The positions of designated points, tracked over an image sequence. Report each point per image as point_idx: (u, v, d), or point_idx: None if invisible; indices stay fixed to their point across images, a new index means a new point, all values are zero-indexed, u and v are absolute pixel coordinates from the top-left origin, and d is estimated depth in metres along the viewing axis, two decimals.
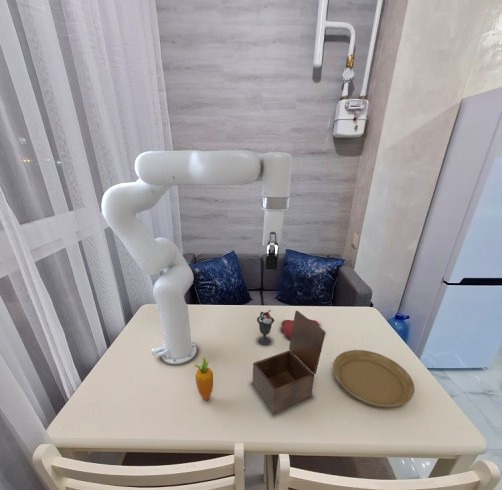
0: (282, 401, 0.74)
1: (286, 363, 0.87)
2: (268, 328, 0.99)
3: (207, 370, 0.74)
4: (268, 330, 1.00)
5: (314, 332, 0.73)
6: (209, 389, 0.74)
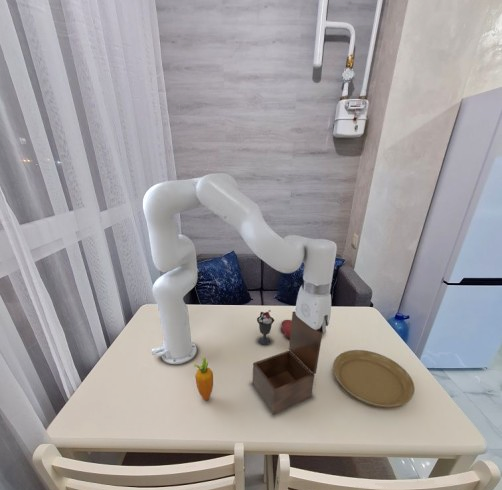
0: (282, 401, 0.74)
1: (286, 363, 0.87)
2: (268, 328, 0.99)
3: (207, 370, 0.74)
4: (268, 330, 1.00)
5: (311, 333, 0.73)
6: (209, 389, 0.74)
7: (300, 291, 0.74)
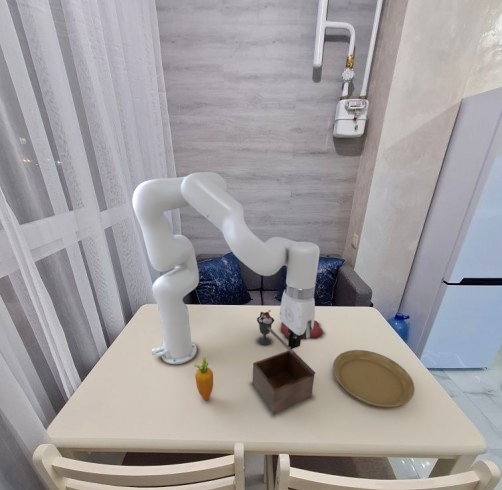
0: (282, 401, 0.74)
1: (286, 363, 0.87)
2: None
3: (207, 370, 0.74)
4: (268, 330, 1.00)
5: None
6: (209, 389, 0.74)
7: (284, 295, 0.71)
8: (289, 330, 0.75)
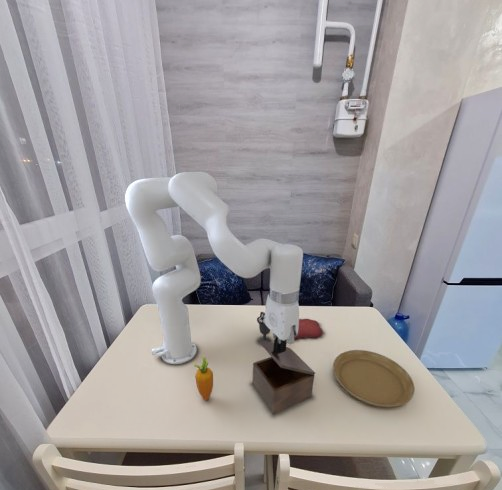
0: (282, 401, 0.74)
1: None
2: (268, 328, 0.99)
3: (207, 370, 0.74)
4: (268, 330, 1.00)
5: None
6: (209, 389, 0.74)
7: (268, 299, 0.69)
8: (274, 335, 0.73)
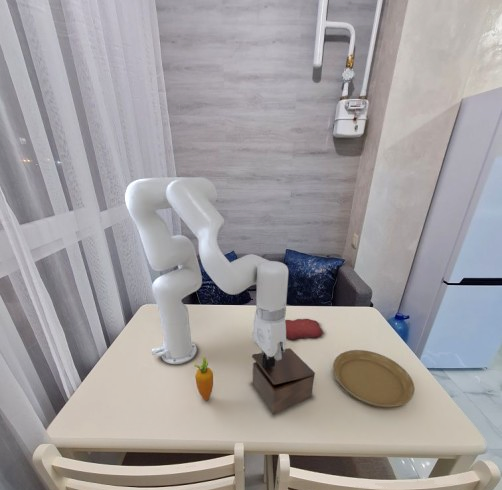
0: (282, 401, 0.74)
1: None
2: None
3: (207, 370, 0.74)
4: None
5: None
6: (209, 389, 0.74)
7: (255, 315, 0.69)
8: (262, 350, 0.73)
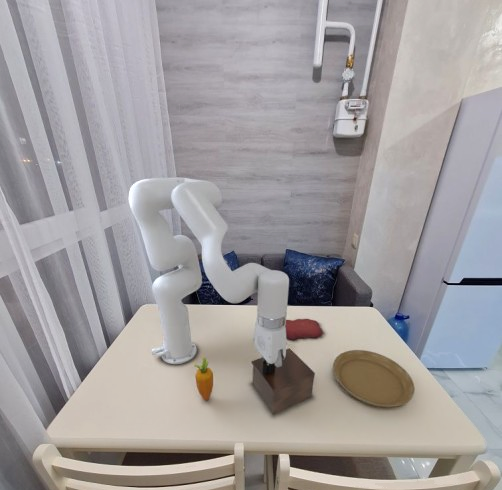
0: (282, 401, 0.74)
1: None
2: None
3: (207, 370, 0.74)
4: None
5: None
6: (209, 389, 0.74)
7: (256, 322, 0.71)
8: (263, 356, 0.74)
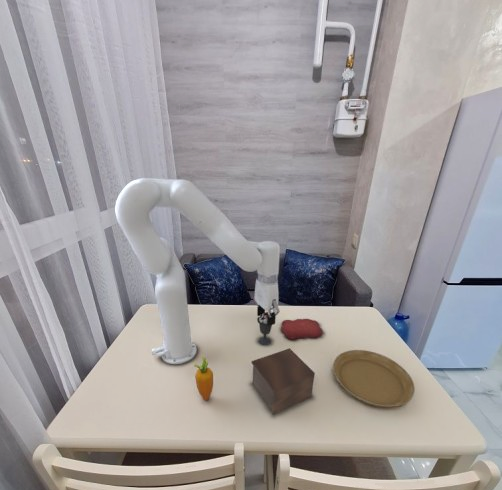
0: (282, 401, 0.74)
1: None
2: (268, 328, 0.99)
3: (207, 370, 0.74)
4: (268, 330, 1.00)
5: None
6: (209, 389, 0.74)
7: (256, 281, 0.95)
8: (258, 304, 1.01)
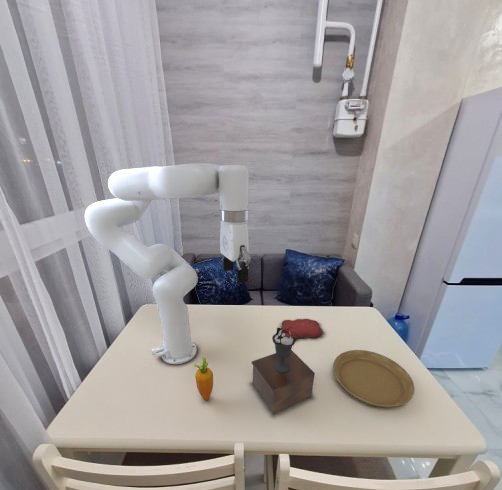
0: (282, 401, 0.74)
1: None
2: (288, 350, 0.73)
3: (207, 370, 0.74)
4: (288, 353, 0.73)
5: None
6: (209, 389, 0.74)
7: (221, 224, 0.72)
8: (224, 255, 0.78)
